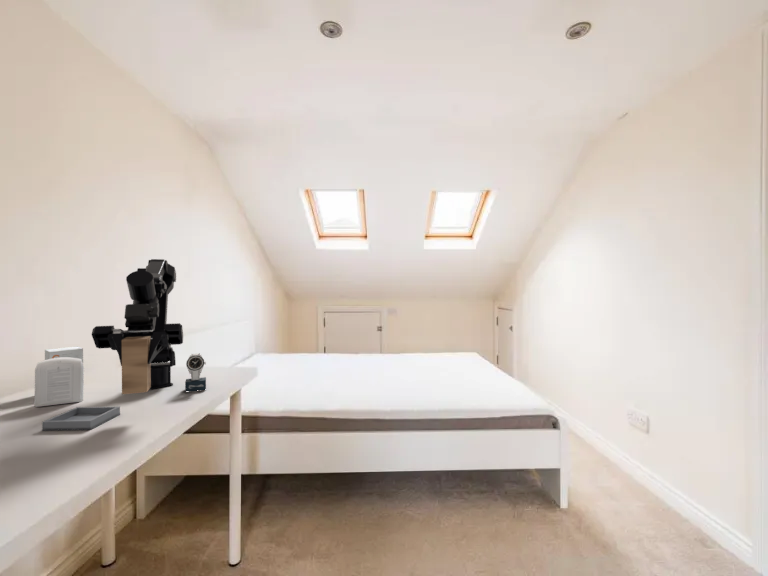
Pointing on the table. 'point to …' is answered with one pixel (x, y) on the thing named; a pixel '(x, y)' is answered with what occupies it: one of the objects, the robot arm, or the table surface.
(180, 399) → the table surface
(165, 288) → the robot arm
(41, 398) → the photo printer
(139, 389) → the walnut block
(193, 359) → the watch
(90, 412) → the tray
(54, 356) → the small box
